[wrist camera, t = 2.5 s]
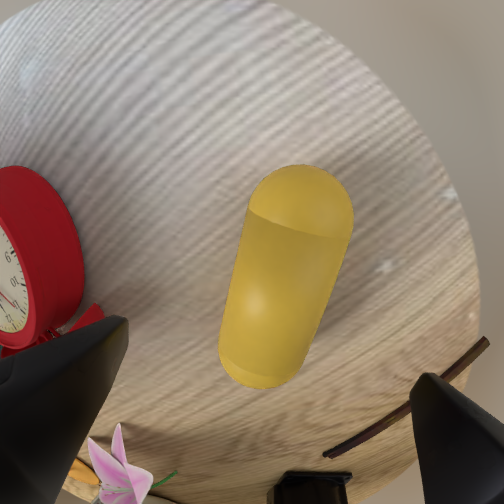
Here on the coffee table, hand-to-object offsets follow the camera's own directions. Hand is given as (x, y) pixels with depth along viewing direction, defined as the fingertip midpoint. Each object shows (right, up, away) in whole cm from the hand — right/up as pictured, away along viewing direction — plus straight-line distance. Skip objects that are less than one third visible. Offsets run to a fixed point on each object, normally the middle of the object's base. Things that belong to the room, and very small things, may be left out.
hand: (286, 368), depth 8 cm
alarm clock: (-14, +2, +7) cm, 16 cm away
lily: (-11, -14, +13) cm, 22 cm away
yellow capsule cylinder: (0, +2, +6) cm, 7 cm away
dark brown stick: (+10, -7, +9) cm, 15 cm away
